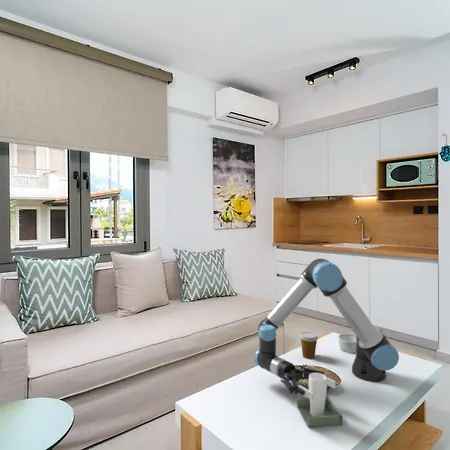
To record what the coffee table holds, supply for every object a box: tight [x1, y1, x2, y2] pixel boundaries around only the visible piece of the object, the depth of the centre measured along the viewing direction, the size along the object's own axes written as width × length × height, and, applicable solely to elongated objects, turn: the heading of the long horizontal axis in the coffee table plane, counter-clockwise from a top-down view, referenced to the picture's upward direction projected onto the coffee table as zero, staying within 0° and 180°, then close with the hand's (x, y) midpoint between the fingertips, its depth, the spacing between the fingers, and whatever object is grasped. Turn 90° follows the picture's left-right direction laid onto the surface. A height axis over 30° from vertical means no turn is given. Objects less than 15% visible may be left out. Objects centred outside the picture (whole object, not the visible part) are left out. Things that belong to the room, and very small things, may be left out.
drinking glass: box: [308, 373, 328, 416], centre depth 129 cm, size 7×7×15 cm
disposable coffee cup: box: [299, 331, 319, 360], centre depth 181 cm, size 10×10×12 cm
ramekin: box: [338, 333, 356, 354], centre depth 190 cm, size 13×13×7 cm
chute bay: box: [296, 395, 343, 429], centre depth 129 cm, size 13×13×4 cm
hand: (324, 390), depth 127 cm, fingers open, 13 cm apart
